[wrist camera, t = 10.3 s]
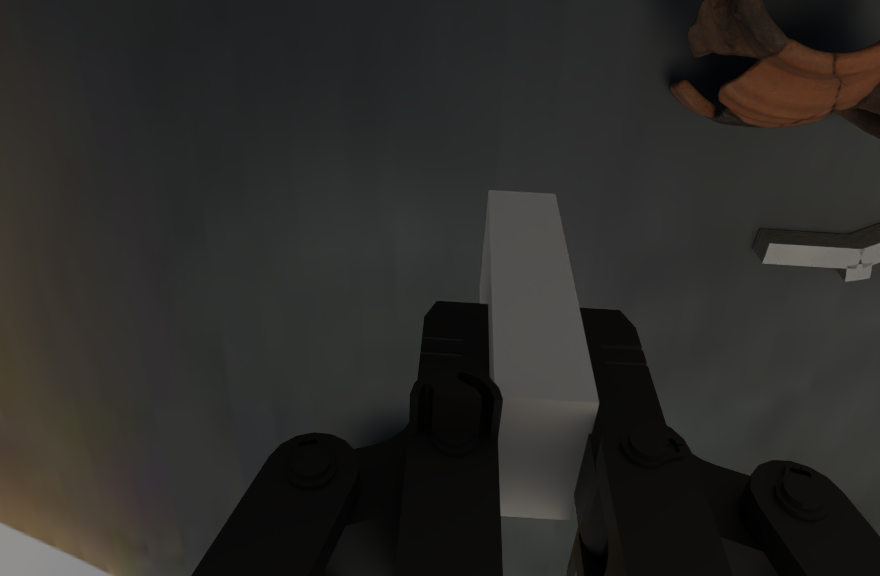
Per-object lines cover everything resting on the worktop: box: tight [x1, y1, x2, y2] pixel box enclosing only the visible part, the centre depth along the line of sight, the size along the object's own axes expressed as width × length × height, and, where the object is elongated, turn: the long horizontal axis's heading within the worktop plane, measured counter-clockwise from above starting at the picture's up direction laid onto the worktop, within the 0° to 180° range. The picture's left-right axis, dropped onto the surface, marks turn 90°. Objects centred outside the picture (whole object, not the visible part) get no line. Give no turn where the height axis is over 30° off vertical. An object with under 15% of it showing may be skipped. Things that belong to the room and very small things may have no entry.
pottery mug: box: [670, 0, 880, 139], centre depth 26 cm, size 12×9×8 cm
